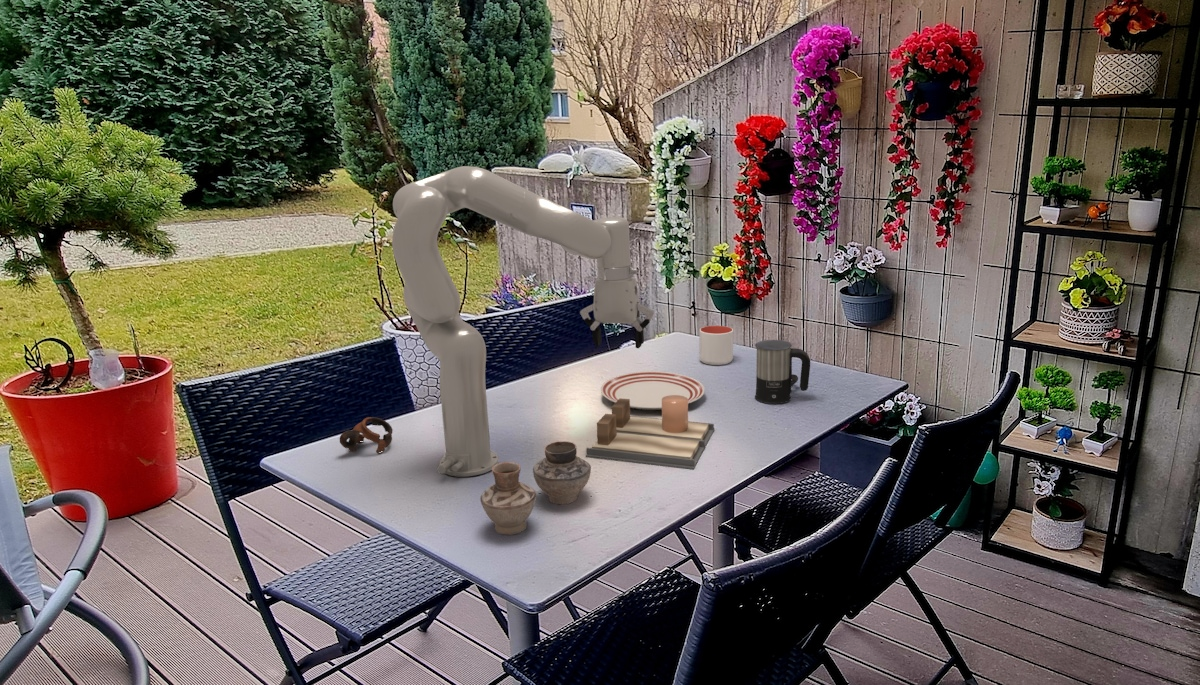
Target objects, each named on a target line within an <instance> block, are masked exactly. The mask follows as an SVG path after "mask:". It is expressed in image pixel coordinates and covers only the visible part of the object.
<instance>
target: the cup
mask: <svg viewBox="0 0 1200 685" xmlns="http://www.w3.org/2000/svg"><path fill="white" fill-rule="evenodd" d="M698 346H699V352H698V353H699V355H698V356H699V360H700V362H701V363H703V364H706V365H710V366H724V365H727V364H729V363H731V362H732V361H733V360H734V328H731V327H730V326H726V325H725V326H724V325H707V326H703V327H702V326H701V327H700V328H699V345H698Z"/></svg>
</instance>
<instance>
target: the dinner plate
mask: <svg viewBox="0 0 1200 685" xmlns="http://www.w3.org/2000/svg"><path fill="white" fill-rule="evenodd" d="M705 389H706V388H705V386H704V385H703V383H701V382H700V381H699V380H697V379H695V378H693V377H691V376H687V375H684V374H680V373H676V372H670V371H658V370H656V371H653V370H651V371H649V370H646V371H645V370H643V371H634V372H628V373H623V374H619V375H616V376H614V377H612V378H609V379H607V380H606V381H605V382H603V383H602V384H601V386H600V393H601V395H602V396H603V397H604V398H605V399H607V400H608V401H610V402H612V403H614V404H615V403H616V402H617V401H618V400H619V399H620V398H622V399H630V409H634V408H636V410H641V409H642V410H643V411H662V398H663V397H665V396H670V395H680V396H684V397H686V398H687V399H688V405H690V404H692V403H694V402H696V401H698V400H700V399H701V398H702V397H703V396H704V395H705V393H706V392H705V391H706V390H705Z"/></svg>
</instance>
